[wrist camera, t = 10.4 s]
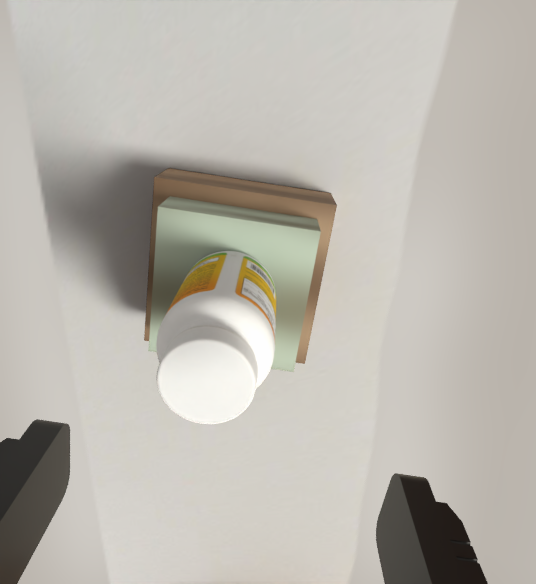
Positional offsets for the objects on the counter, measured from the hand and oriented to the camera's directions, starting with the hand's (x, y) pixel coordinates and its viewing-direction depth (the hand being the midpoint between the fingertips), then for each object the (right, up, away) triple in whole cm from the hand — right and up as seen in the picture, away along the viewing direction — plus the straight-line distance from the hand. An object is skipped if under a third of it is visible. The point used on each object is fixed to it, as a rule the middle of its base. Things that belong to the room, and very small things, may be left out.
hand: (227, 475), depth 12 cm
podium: (-1, +7, +23) cm, 24 cm away
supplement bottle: (-1, +4, +16) cm, 17 cm away
